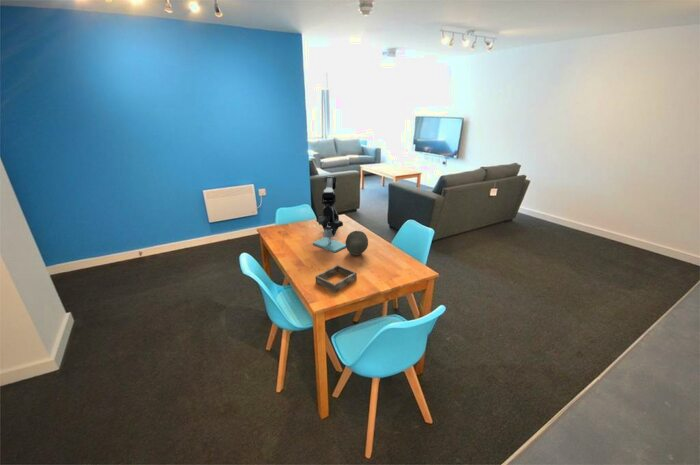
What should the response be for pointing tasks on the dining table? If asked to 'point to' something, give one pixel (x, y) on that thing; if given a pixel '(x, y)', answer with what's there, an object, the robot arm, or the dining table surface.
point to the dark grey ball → (356, 242)
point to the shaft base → (330, 244)
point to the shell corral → (339, 285)
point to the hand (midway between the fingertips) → (329, 233)
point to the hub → (328, 232)
